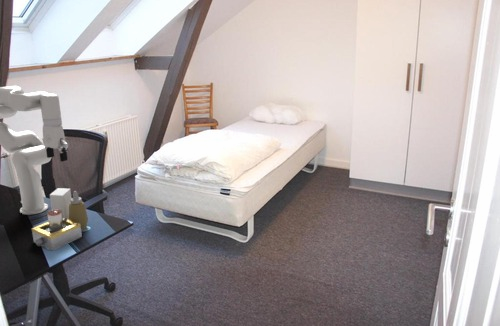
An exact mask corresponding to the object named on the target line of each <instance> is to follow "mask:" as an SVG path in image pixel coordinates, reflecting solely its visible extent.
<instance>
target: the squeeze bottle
mask: <svg viewBox="0 0 500 326" xmlns="http://www.w3.org/2000/svg"><path fill="white" fill-rule="evenodd" d="M72 195H73V196H72V197H71V199H70V200H71V203H70V204H69V219H70V220H72V221H75V222H78V223H80V225H81V231H82V230H83V229H86V227H87V226H88V222H89V218H88V217H89V216H88V212H87V208H86V205H85V202H84V201H83V199H82V197H80V196H79V194H78V192H77V190H74V191H73V194H72Z"/></svg>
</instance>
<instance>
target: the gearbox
mask: <svg viewBox="0 0 500 326" xmlns="http://www.w3.org/2000/svg"><path fill="white" fill-rule="evenodd" d="M64 218H65V217H62V219H64ZM31 232H32V233H31V235H32V238H33V243H35V245H36V246H37V247H43V248H44V249H45V248H46V249H48V250H50V251H55V250H57V249H60V248H62V247H64V246H66V245H68V244H69V243H72V242H74V241H76V240H79V239H81V238H83V235H82V230H81V225H80V223H78V222H75V221H72V220H70V219H67V221H65V222H63V229H61V230H59V231H54V232H53V231H50V230H49V222H48V221H47V222H44V223H42V224H39V225H36V226H34V227H32V228H31Z"/></svg>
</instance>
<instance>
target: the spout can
mask: <svg viewBox="0 0 500 326" xmlns="http://www.w3.org/2000/svg"><path fill="white" fill-rule="evenodd" d="M46 214H47V222H49V230H50V231H53V232H54V231H59V230H61V229H63V222H65V221H67V218H64V219H62V210H61V209H50V210H47V212H46Z"/></svg>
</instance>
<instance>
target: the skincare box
mask: <svg viewBox="0 0 500 326" xmlns="http://www.w3.org/2000/svg"><path fill="white" fill-rule="evenodd" d="M71 198H72V192H71V188H64V187H63V188H62V187H60V188H59V187H58V188H56V189H55V190H54V191H52V192H51V193H50V194H49V201H50V202H49V203H50V208H51V209H50V210H52V209H61V210H62V217H65V218H67V219H69V204H70V203H71V200H70V199H71Z"/></svg>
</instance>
